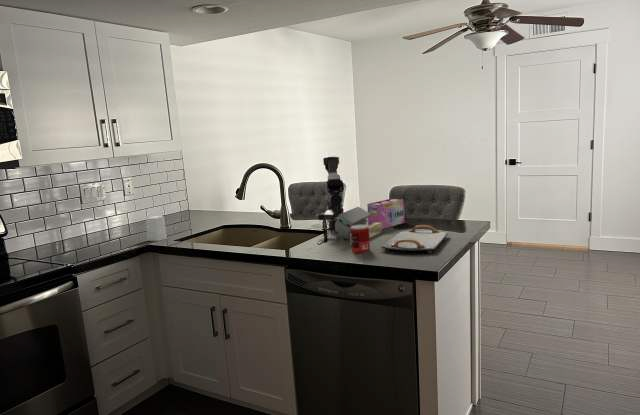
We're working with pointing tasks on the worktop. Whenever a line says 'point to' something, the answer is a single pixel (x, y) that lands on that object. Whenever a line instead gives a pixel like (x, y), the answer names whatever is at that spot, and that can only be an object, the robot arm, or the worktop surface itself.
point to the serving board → (416, 240)
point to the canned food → (360, 238)
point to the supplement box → (156, 228)
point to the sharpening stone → (350, 221)
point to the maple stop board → (373, 229)
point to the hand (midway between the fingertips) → (337, 233)
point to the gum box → (386, 212)
